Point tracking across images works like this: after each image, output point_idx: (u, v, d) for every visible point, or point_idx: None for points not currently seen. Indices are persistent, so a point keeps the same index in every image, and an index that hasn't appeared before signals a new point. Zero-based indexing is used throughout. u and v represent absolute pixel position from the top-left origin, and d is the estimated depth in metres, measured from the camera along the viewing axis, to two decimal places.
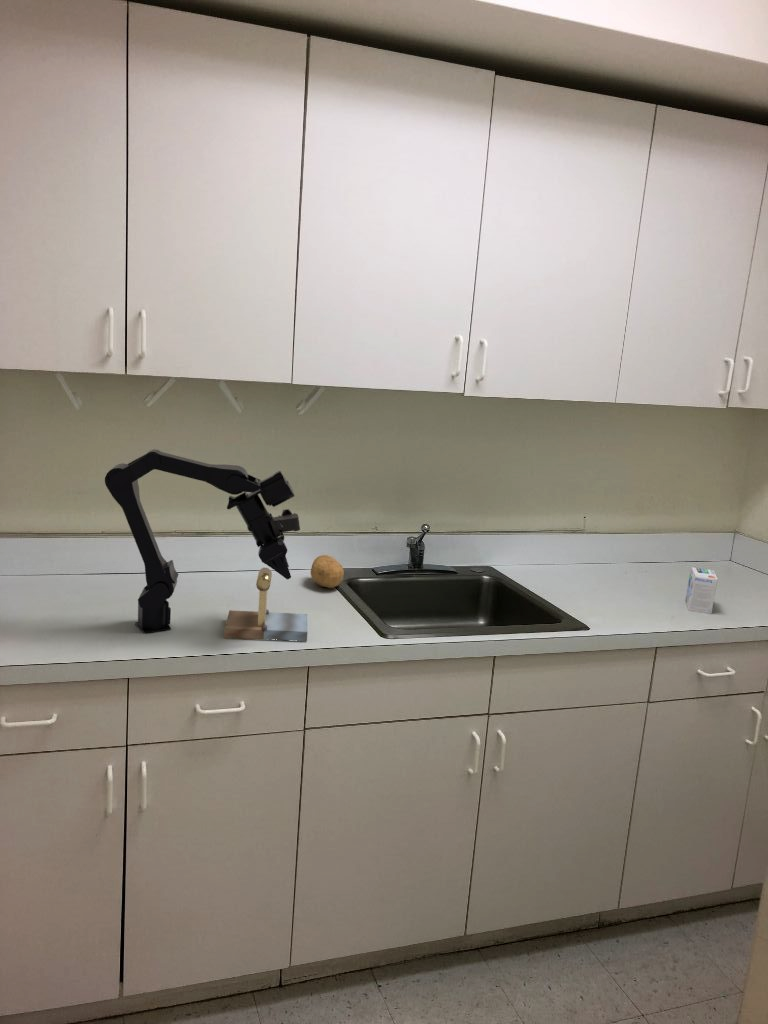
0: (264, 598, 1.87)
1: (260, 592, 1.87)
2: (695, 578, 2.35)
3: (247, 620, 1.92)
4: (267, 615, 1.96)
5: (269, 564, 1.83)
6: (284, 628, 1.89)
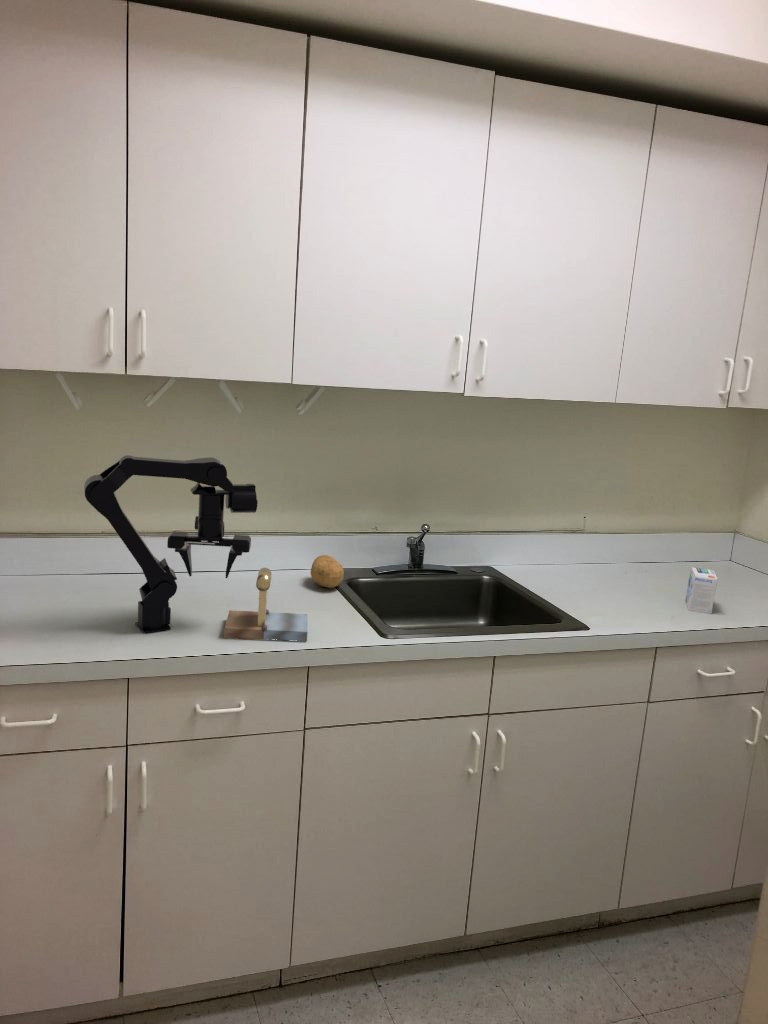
0: (264, 598, 1.87)
1: (260, 592, 1.87)
2: (695, 578, 2.35)
3: (247, 620, 1.92)
4: (267, 615, 1.96)
5: None
6: (284, 628, 1.89)
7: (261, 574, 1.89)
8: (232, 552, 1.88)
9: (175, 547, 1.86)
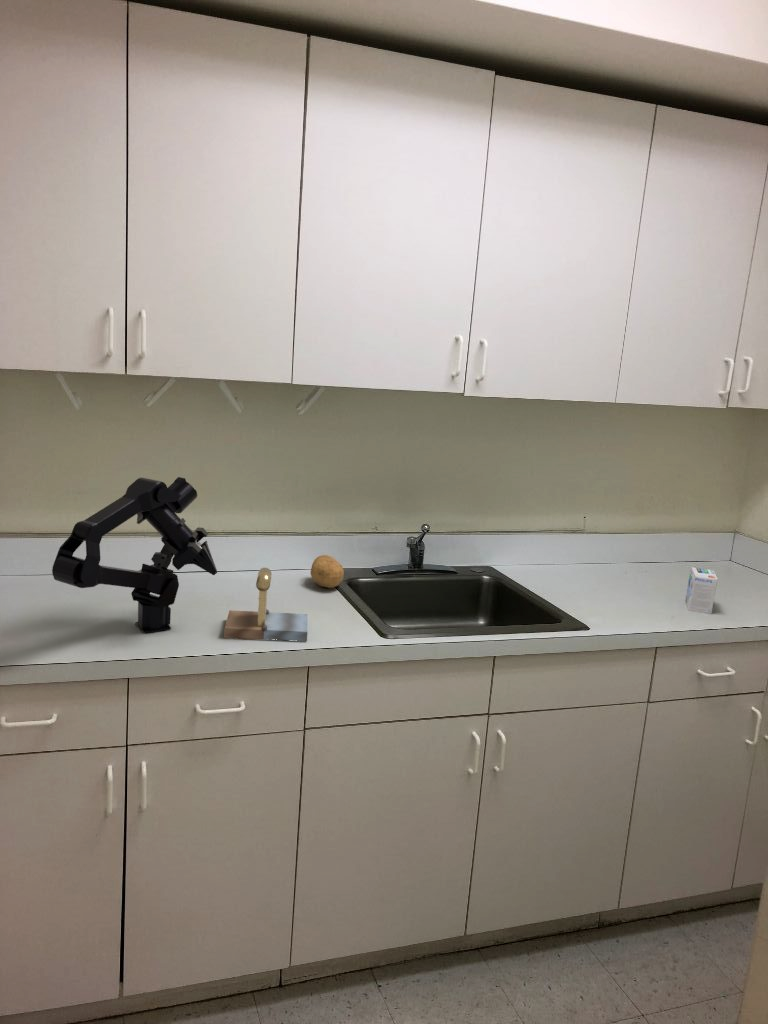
0: (264, 598, 1.87)
1: (260, 592, 1.87)
2: (695, 578, 2.35)
3: (247, 620, 1.92)
4: (267, 615, 1.96)
5: None
6: (284, 628, 1.89)
7: (261, 574, 1.89)
8: (203, 544, 1.89)
9: (198, 550, 1.80)
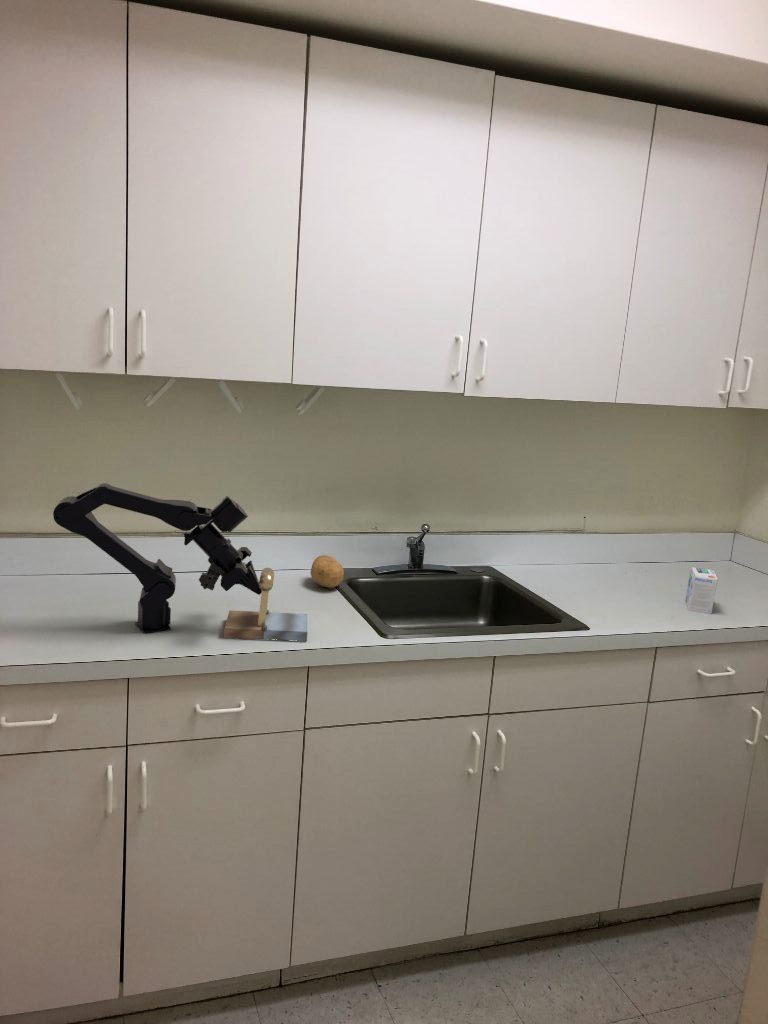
0: (266, 598, 1.87)
1: (262, 592, 1.87)
2: (695, 578, 2.35)
3: (247, 620, 1.92)
4: (267, 615, 1.96)
5: None
6: (284, 628, 1.89)
7: (264, 574, 1.89)
8: (248, 564, 1.91)
9: (246, 571, 1.82)
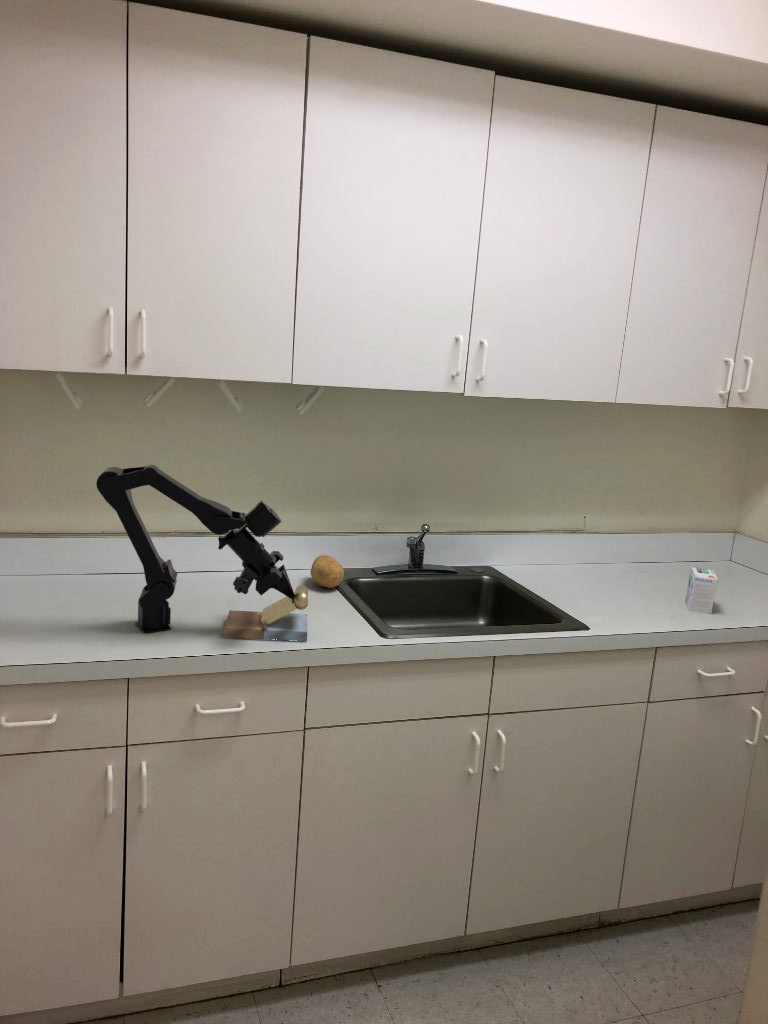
0: (289, 611, 1.89)
1: (292, 604, 1.88)
2: (695, 578, 2.35)
3: (247, 620, 1.92)
4: None
5: None
6: (284, 628, 1.89)
7: (305, 593, 1.91)
8: (281, 568, 1.92)
9: (280, 575, 1.83)
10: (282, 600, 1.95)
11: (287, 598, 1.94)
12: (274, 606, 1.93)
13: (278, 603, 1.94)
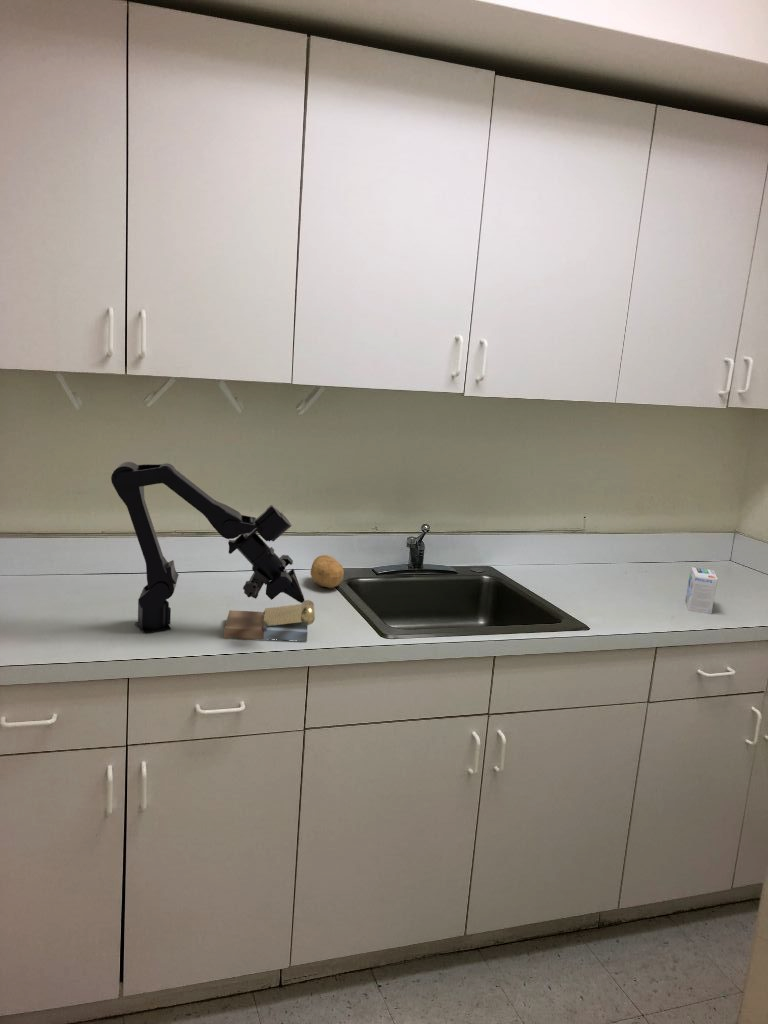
0: (293, 621, 1.89)
1: (299, 616, 1.89)
2: (695, 578, 2.35)
3: (247, 620, 1.92)
4: None
5: None
6: (284, 628, 1.89)
7: (313, 610, 1.92)
8: (291, 572, 1.92)
9: (291, 579, 1.83)
10: (287, 607, 1.95)
11: (293, 607, 1.95)
12: (278, 610, 1.94)
13: (283, 608, 1.95)
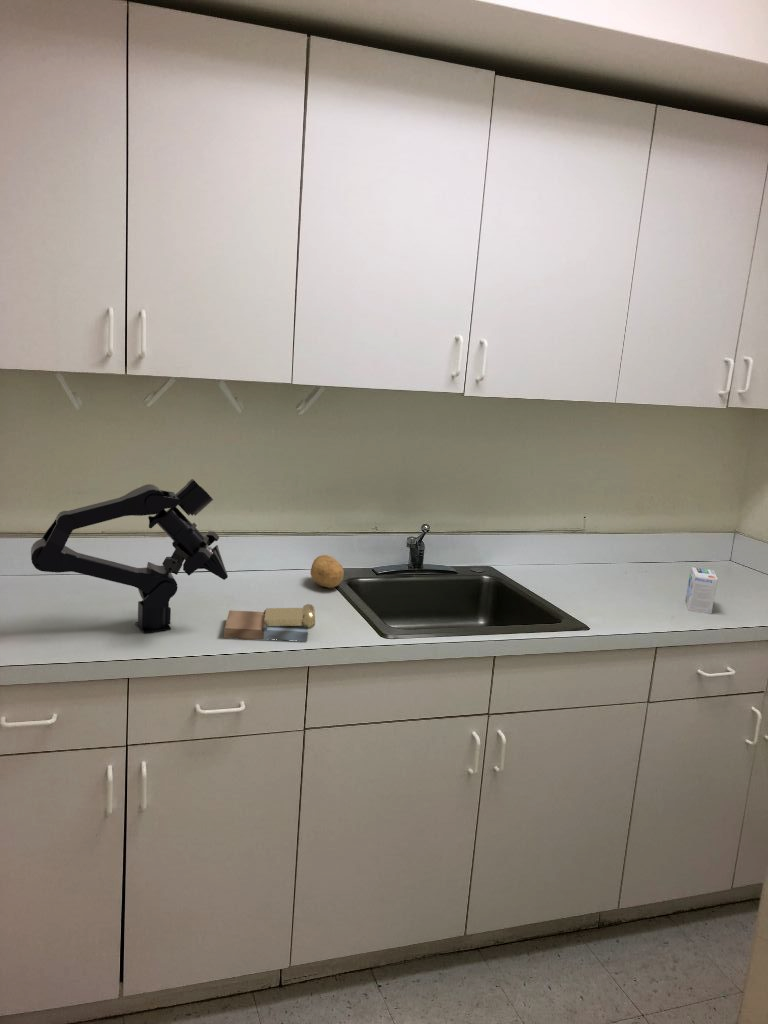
0: (293, 624, 1.89)
1: (300, 620, 1.89)
2: (695, 578, 2.35)
3: (247, 620, 1.92)
4: None
5: None
6: (284, 628, 1.89)
7: (314, 615, 1.93)
8: (214, 548, 1.89)
9: (209, 555, 1.80)
10: (288, 610, 1.95)
11: (294, 610, 1.95)
12: (279, 612, 1.94)
13: (283, 610, 1.95)
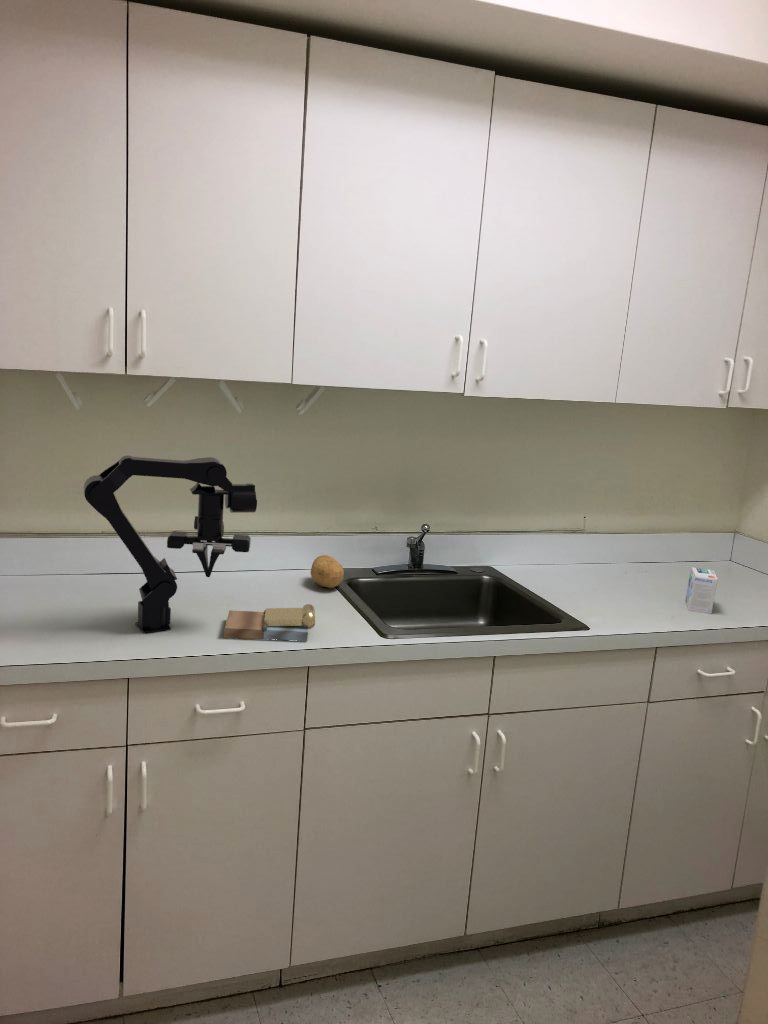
0: (293, 624, 1.89)
1: (300, 620, 1.89)
2: (695, 578, 2.35)
3: (247, 620, 1.92)
4: None
5: None
6: (284, 628, 1.89)
7: (314, 615, 1.93)
8: (214, 551, 1.88)
9: (175, 547, 1.86)
10: (288, 610, 1.95)
11: (294, 610, 1.95)
12: (279, 612, 1.94)
13: (283, 610, 1.95)
